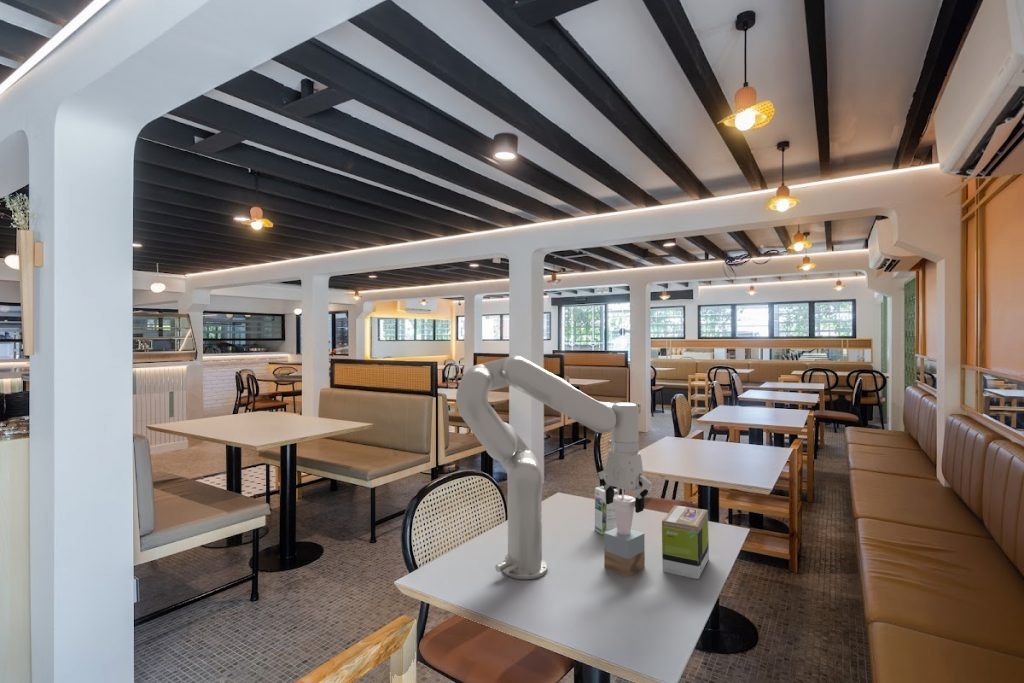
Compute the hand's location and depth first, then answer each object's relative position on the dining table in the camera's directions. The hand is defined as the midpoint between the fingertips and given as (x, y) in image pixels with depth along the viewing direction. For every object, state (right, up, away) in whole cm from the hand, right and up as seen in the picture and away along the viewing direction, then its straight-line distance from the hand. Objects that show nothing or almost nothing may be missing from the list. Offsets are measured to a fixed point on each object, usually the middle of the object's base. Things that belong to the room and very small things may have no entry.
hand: (624, 507), depth 147 cm
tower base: (0, -17, 0) cm, 17 cm away
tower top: (0, -12, 0) cm, 12 cm away
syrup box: (0, -17, +26) cm, 31 cm away
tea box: (+18, -17, +1) cm, 25 cm away
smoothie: (0, -7, 0) cm, 7 cm away
